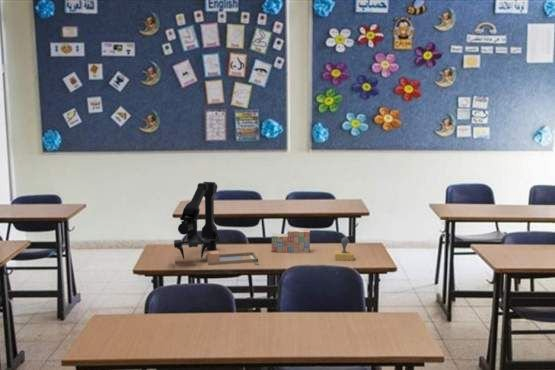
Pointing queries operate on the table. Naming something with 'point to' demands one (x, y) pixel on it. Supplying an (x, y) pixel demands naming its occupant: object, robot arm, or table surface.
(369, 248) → the table surface
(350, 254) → the rubber stamp
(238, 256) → the box
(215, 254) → the terracotta block
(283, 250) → the stack of blocks
